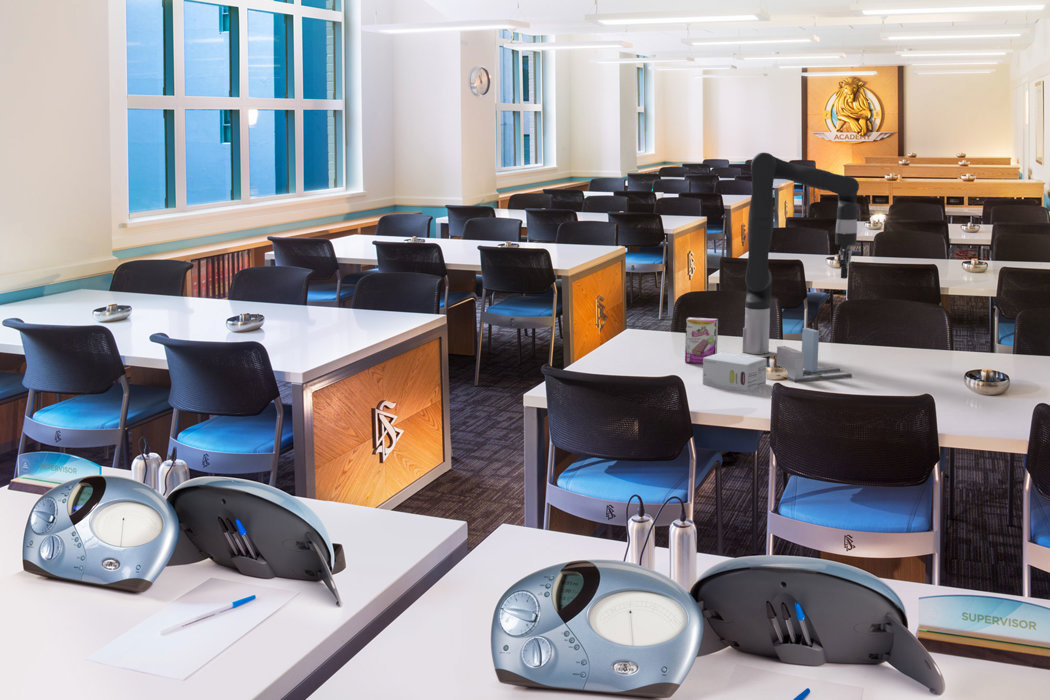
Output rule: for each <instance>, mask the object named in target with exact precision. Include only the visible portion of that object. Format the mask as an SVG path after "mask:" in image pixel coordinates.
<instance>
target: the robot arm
mask: <svg viewBox="0 0 1050 700" xmlns="http://www.w3.org/2000/svg"><path fill="white" fill-rule="evenodd" d="M750 170H751V186H752V187H751V188H752V189H751V190H752V191H751V197H750V202H749V207H748V208H749V210H748V221H747V243H748V245H747V246H748V258H747V263H746V264H747V266H746V271H745V275H744V276H745V279H744V281H745V285H746V295H745V296H746V297H745V302H744V303H745V304H744V305H745V306H744V309H745V311H744V313H745V314H744V327H743V328H742V353H746V354H753V355H763V354H764V353H765V354H768V353H769V352H770V351H769V350H770V349H769V348H770V323H771V322H770V321H771V319H770V317H771V301H772V288H773V287H772V285H773V278H772V277H773V275H772V272H771V271H770V269H769V253H770V249H771V248H770V247H771V243H772V237H773V232H774V221H775V220H774V219H775V215H774V214H775V210H774V198H773V197H774V195H773V186H774V180H775V178H777V179H783V180H788V181H791V182H793V183H797V184H800V185H803V186H806V187H809V188H811V189H812V188H813V189H816V190H821V191H827V192H831V193H834V194H836V195H837V210H836V222H835V223H836V224H835V236H834V238H835V239H834V240H835V241H834V244H835V245H838V246H840V249H839V250H838V255H837V257H838V263H839V268H840V279H843V280H844V279H845V280H846V279H848V277H849V276H848V275H849V268H850V265H851V260H852V255H853V250H852V249H851V246H856V244H857V239H858V238H857V237H858V205H857V200H858V199H857V198H858V191H859V188H860V184H859V181H858V180H857V179H856V178H854V177H852V176H847V175H842V174H837V173H833V172H831V171H829V170H824V169H820V168H817V167H812V166H807V165H801V164H798V163H797V164H796V163H793V162H788V161H786V160H782V159H781V158H778V157H775V156H774V155H772V154H771V153H769V152H760V153H757V154H756V155H755V156H754V157H753V158H752V160H751V162H750Z"/></svg>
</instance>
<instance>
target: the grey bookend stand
mask: <svg viewBox="0 0 1050 700" xmlns="http://www.w3.org/2000/svg"><path fill="white" fill-rule="evenodd" d="M803 357H804V352H802V350H798V349H794V348H792V347H789V346H786V345H782V346H781V345H780V346H776V365H777V366H780V367H782V368H785V369H786V370H787V372H788V374H787V379H786V380H788V381H790V382H793V383H800V382H801V383H802V382H812V381H811V380H814V381H820V380H819V379H825V380H833V379H834V378H836V379H844V378H843V377H847V378H853V377H852V373H850V372H847V371H844V370H841V368H840V367H833V366H832V367H830V366H829V367H819V368H818V367H817V372H818V373H821V375H818V374H816V373H814V372H811V371H808V370H806V369H803ZM834 380H835V379H834Z"/></svg>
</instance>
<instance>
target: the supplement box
mask: <svg viewBox="0 0 1050 700" xmlns="http://www.w3.org/2000/svg"><path fill="white" fill-rule="evenodd" d="M767 360H768V359H767V358H766V357H759V356H752V355H746V354H738V353H731V352H727V351H726V352H725V351H721V352H717V354H714V355H711V356H707V357H704V358H703V364H702V385H706V386H712V387H717V388H724V389H730V390H735V391H736V390H737V391H742V392H750V391H751V390H754V389H757V388H759V387H762V386H765V385H767V362H768V361H767Z"/></svg>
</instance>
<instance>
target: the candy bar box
mask: <svg viewBox="0 0 1050 700" xmlns="http://www.w3.org/2000/svg"><path fill="white" fill-rule="evenodd" d="M685 320H686V321H685V345H684V346H685V349H684V350H685V351H684V352H685V354H684V355H685V356H684V363H686V364H697V365H699V364H700V365H701V364H702V365H703V358H704V357H707V356H711V355H714V354H717V353H718V331H719V329H718V327H719V319H718V318H706V317H689V316H688V317H687V318H686V319H685Z"/></svg>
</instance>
